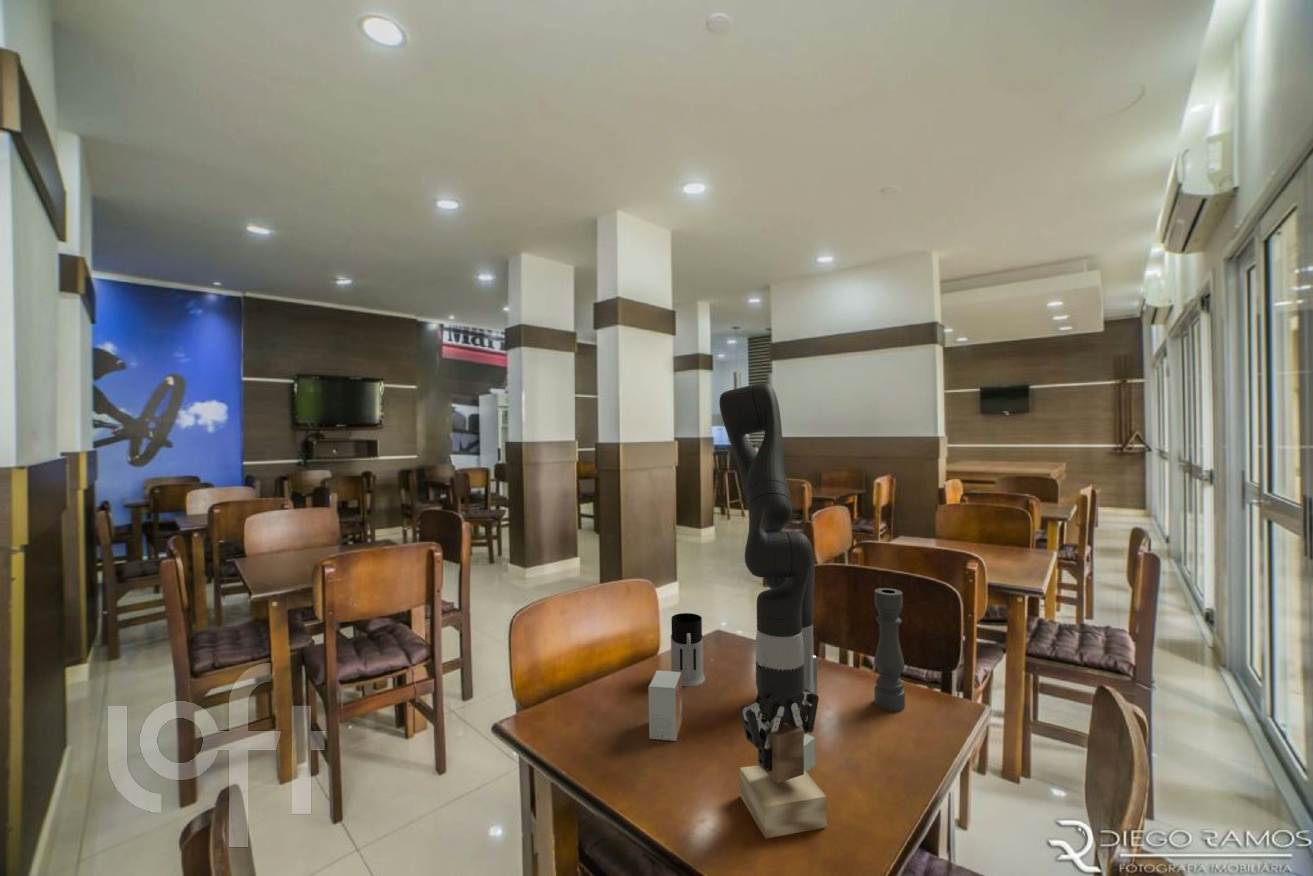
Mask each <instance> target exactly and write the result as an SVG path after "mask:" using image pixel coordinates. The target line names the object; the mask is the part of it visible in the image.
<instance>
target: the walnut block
mask: <svg viewBox="0 0 1313 876" xmlns="http://www.w3.org/2000/svg"><path fill="white" fill-rule="evenodd" d="M767 723H768V724H769V725H771V723H770V722H768V721H767ZM758 728H759V726H758ZM765 736H766V731H765ZM771 748H772V771H770V772H767V771H766V770H765V769H764V768H762V766H761V765H760V764H759V763H758V765H759V766H760V767H761V768H762V769H763V770H764V771H765V772H766V773H767V774H768V775H770V776H771V777H772V778H773V779H774V780H775V781H776V782H777V783H780V782H783V781H786V780H789V779H792V778H795V777H798V776H801V775H804V733H803V729H801V728H800V727H798V728H796V727H795V726H793V725H792V724H791V723H783V724H781V725H779V727H778V731H777V734H773V735H772V744H771Z"/></svg>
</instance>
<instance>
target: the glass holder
mask: <svg viewBox="0 0 1313 876" xmlns="http://www.w3.org/2000/svg"><path fill="white" fill-rule="evenodd" d="M670 620H671V635H670V656H671V657H670V659H671V660H670V662H671V663H670V664H671V665H670V666H671V667H670V668H671V669H670V671H671V672H681V673H682V687H696V686H699V685H702V684H703V683H704V682H705V681H706V677H705V675H704V649H703V648H704V646H703V645H704V644H703V641H704V639H703V637H704V636H703V626H702V625H703V624H702V623H703V619H702V616H701V615H699V614H696V613H689V612H685V613H684V612H683V613H682V612H681V613H677V614H674V615H672V616H671V619H670Z"/></svg>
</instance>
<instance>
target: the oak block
mask: <svg viewBox="0 0 1313 876" xmlns="http://www.w3.org/2000/svg"><path fill="white" fill-rule="evenodd" d="M739 770H740V771H739V773H740V774H739V777H740V778H739V779H740V784H739V785H740V787H739V788H740V790H739V791H740V798H741V800H742V801H743V803H744V805H745V806H746V808H747V809H748V812H749V813H750V815H751V817H752V818H753V820H754V822H755V823H756V825H757V827H758V829H759V830H760V832H761V834H762V835H763V836H764V838H765V839H771V838H775V837H781V836H786V835H787V836H788V835H791V834H798V833H802V832H808V831H813V830H814V831H815V830H820V829H825V828H827V796H826V794H825V793H824V792H823V791H822V789H821V788H820V787H819V786H818V785H817V784H816V782H815V781H814V780H813V778H812V777H811V776H810V775H809V773H808V772H806V771H805V770H804V775H801V776H798V777H795V778H792V779H789V780H786V781H783V782H780V783H777V782H776V781H775V780H774V779H773V778H772V777H771V776H770V775H768V774H767V773H766V772H765V771H764V770H763V769H762V768H761V767H760V766H759V764H757V765H750V766H743V767H739Z"/></svg>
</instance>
